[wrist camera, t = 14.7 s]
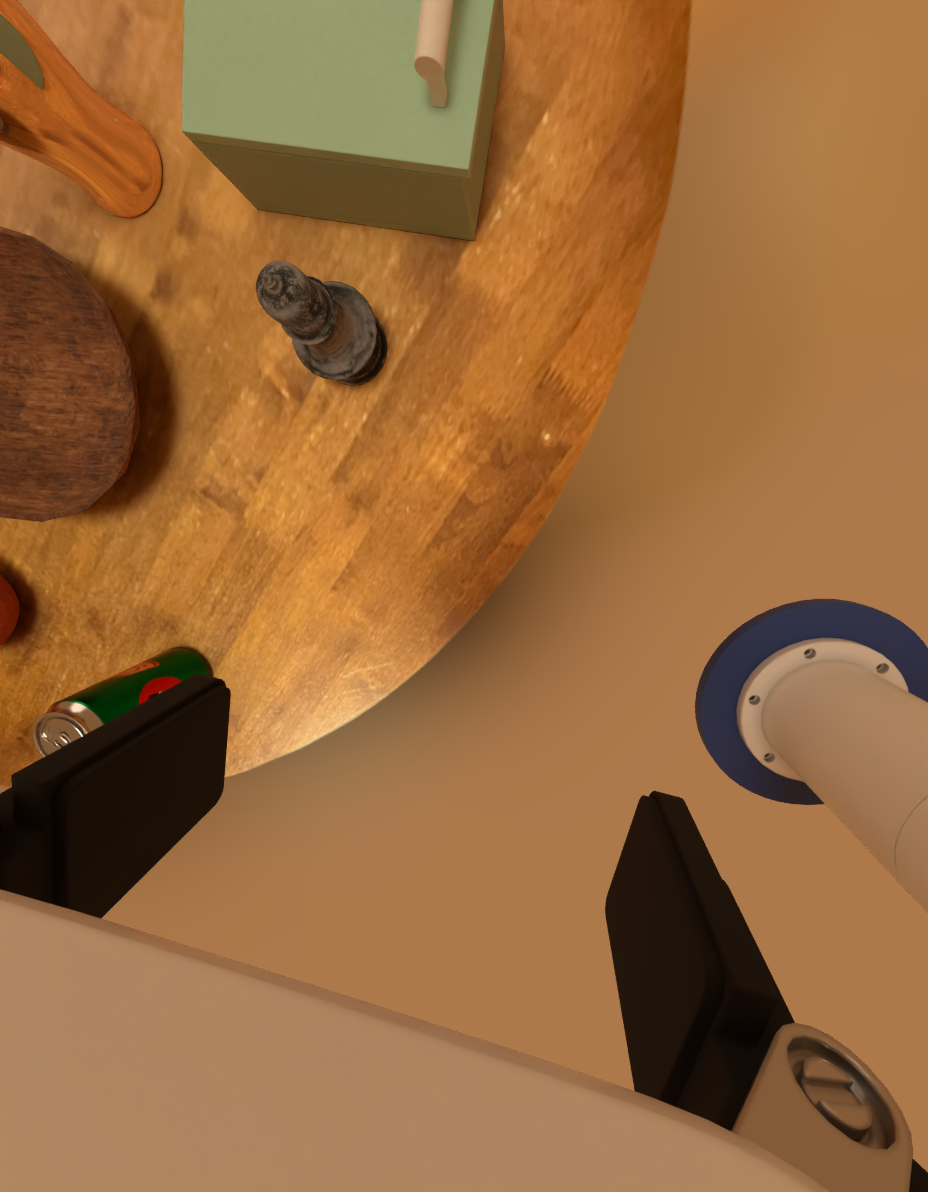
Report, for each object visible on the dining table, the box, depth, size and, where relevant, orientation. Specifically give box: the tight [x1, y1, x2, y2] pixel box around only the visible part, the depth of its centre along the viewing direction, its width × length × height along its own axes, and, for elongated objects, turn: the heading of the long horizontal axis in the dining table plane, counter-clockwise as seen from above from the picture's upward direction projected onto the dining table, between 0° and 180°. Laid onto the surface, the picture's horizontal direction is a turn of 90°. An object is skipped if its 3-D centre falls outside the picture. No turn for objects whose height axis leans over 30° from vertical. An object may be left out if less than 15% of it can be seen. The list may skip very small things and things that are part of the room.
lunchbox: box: [192, 0, 505, 241], centre depth 28 cm, size 16×11×7 cm
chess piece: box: [256, 261, 387, 386], centre depth 29 cm, size 6×6×12 cm
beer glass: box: [0, 0, 162, 217], centre depth 26 cm, size 7×7×15 cm
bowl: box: [0, 227, 140, 522], centre depth 36 cm, size 20×22×5 cm
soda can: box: [33, 648, 209, 757], centre depth 37 cm, size 5×5×12 cm
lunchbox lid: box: [182, 0, 497, 178], centre depth 23 cm, size 16×11×4 cm, turn 80°
